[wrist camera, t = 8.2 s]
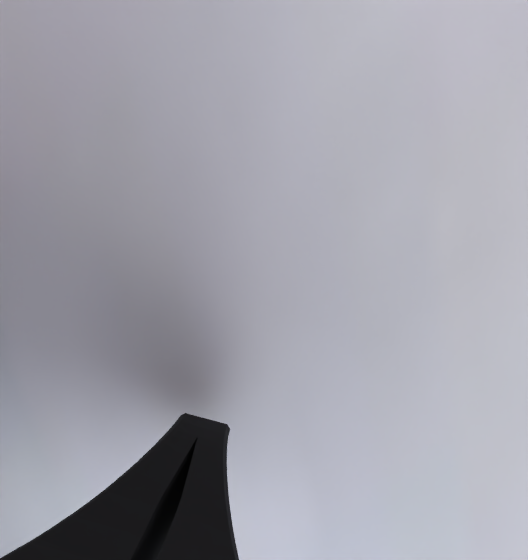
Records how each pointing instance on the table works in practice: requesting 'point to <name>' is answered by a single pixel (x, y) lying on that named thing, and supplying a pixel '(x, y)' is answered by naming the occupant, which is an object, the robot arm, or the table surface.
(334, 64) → the table surface
